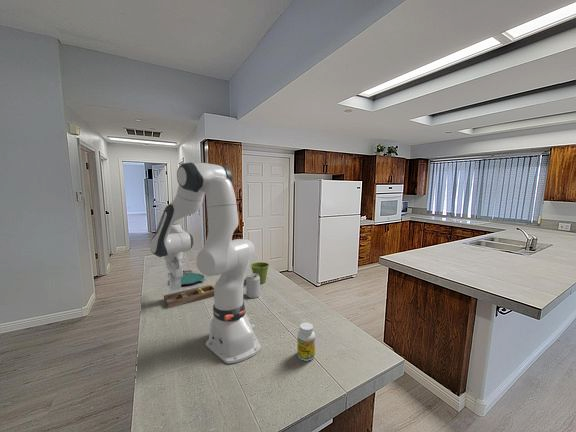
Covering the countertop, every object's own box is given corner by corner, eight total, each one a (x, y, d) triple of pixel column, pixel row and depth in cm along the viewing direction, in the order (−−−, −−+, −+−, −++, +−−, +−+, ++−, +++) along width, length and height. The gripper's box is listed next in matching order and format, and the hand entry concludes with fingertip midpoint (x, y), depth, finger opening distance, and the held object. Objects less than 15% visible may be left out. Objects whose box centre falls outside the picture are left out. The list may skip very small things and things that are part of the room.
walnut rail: (219, 295, 136) (219, 290, 136) (168, 308, 121) (168, 302, 120) (212, 288, 145) (212, 283, 145) (163, 299, 129) (163, 294, 129)
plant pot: (270, 278, 161) (270, 262, 159) (267, 286, 149) (267, 268, 148) (253, 278, 162) (252, 261, 161) (248, 285, 150) (248, 267, 149)
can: (257, 299, 131) (257, 277, 130) (244, 297, 133) (244, 276, 132) (261, 293, 139) (261, 273, 137) (249, 292, 140) (249, 272, 139)
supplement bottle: (316, 352, 90) (317, 323, 89) (312, 363, 84) (312, 332, 83) (300, 348, 92) (300, 319, 91) (294, 358, 86) (295, 328, 85)
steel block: (181, 288, 126) (180, 273, 125) (171, 291, 123) (170, 275, 123) (179, 285, 130) (178, 271, 129) (169, 288, 127) (168, 273, 126)
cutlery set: (173, 290, 142) (173, 286, 142) (165, 275, 166) (165, 272, 166) (208, 283, 153) (208, 279, 153) (195, 270, 178) (195, 267, 178)
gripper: (185, 258, 118) (186, 286, 120) (175, 250, 135) (177, 274, 136) (171, 261, 115) (172, 289, 116) (163, 252, 131) (164, 277, 132)
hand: (175, 281), depth 126 cm, fingers closed on steel block, 5 cm apart
